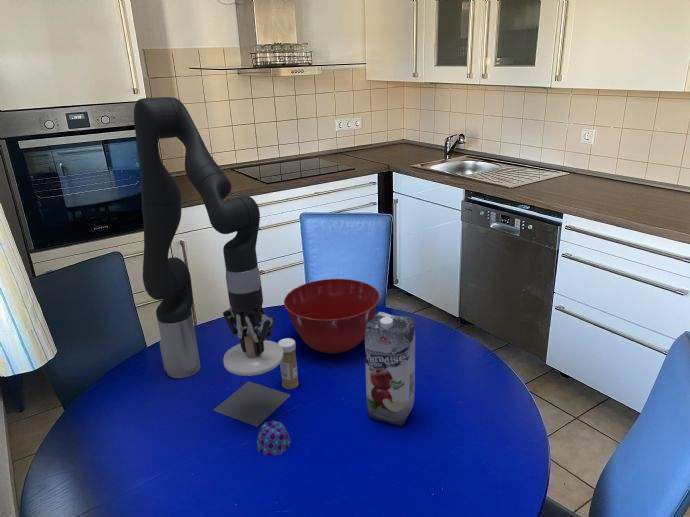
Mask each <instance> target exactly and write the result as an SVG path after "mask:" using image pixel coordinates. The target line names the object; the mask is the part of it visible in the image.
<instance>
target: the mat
mask: <svg viewBox="0 0 690 517" xmlns="http://www.w3.org/2000/svg"><path fill="white" fill-rule="evenodd" d="M290 396H292V395H291V394H290V393H286V392H283V391H280V390H277V389H274V388H270V387H267V386H265V385H262V384H259V383H255V382H252V381H246V382H245V383H244V384H243V385H242V386H241V387H239V388H238V389H237V390H236V391H235V392H233V393H232V394H231V395H229V397H227V398H226V399H225V400H224V401H222V402H221V403H220V404H219V405H217V406H216V407H215V408H213V410H212V411H213V412H216V413H218V414H222V415H224V416H227V417H230V418H233V419H235V420H238V421H241V422H243V423H244V424H245V423H246V424H248V425H252V426H253V427H257V428H258V427H260V425H261V424H263V422H265V420H266V419H268V418H269V417H270V416H271V415H272V414H273V413H274V412H276V410H277V409H279V407H280V406H281V405H283V403H284V402H286V401H287V399H289V397H290Z"/></svg>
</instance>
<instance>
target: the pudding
mask: <svg viewBox="0 0 690 517" xmlns="http://www.w3.org/2000/svg"><path fill="white" fill-rule="evenodd" d="M259 427H260V428H259V429H258V433H257V440H256V450H257V452H258V453H262V454H263V456H266V457H269V456H280V455H282V453H283V452H286V451H288V450H289V449H290V445H291V443H292V440H291V437H290V435H289V432H288V430H287V428H286V426H285V425H284V423H283V422H281V421H276V420H271V421H266V422H264V423H262V425H261V426H259Z"/></svg>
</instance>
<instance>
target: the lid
mask: <svg viewBox="0 0 690 517" xmlns="http://www.w3.org/2000/svg"><path fill="white" fill-rule="evenodd" d="M244 341H245V348H246V352H243V351H242V349H241V345H240V343H237V344H236V345H234V346H232V347H230V348H229V349H228V350H227V351H226V352H225V353H224V354H223V355H224V356H223V366H224V369H225V370H226V371H227V372H229V373H231V374H233V375H237V376H243V377H248V376H249V377H250V376H259V375H262V374H265V373H267V372H270V371H272V370H274V369H275V368H277V367H278V366H279V365H280V363H281V362H282V360H283V356H284V355H283V349H282V347H281V346H280V345H279V344H278V342H275V341H272V340H267V339H266V340H265V341H263V342H264V351H263V353H262V354H260V355H259V356H257V355H255V349H254V339H253V335H252V334H251V333H250V332H248V334H246V335H245V336H244Z"/></svg>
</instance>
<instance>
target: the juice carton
mask: <svg viewBox="0 0 690 517" xmlns="http://www.w3.org/2000/svg"><path fill="white" fill-rule="evenodd" d="M415 326H416V322H415V318H414V317H413V316H412V317H411V316H399V315H393V314H389V313H387V312H383V311H377V312H375V315H374V317H373V318H372V319H371V320H370V321H369V322H368V323H367V324H366V325H365V338H364V352H365V353H364V354H365V389H366V390H365V393H366V394H365V395H366V398H365V399H366V405H367V406H366V407H367V412H368V417H369V418H370V419H373V420H375V421H376V420H377V421H379V422H383V423H384V422H385V423H388V424H391V425H394V426H399V427H403V425H404V424H405V421H406V420H407V418H408V417H409V415H410V413H411V411H412V409H413V406H414V403H415V388H416V386H415V384H416V383H415V380H416V378H415V377H416V375H415V373H416V369H415V368H416V366H415V365H416V331H415Z"/></svg>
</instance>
